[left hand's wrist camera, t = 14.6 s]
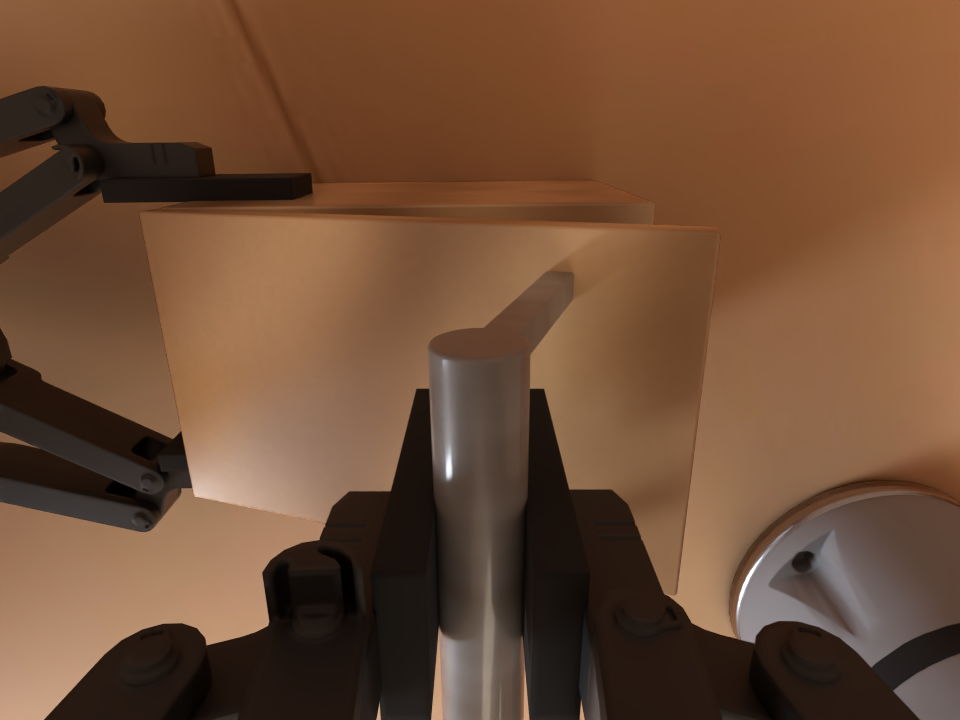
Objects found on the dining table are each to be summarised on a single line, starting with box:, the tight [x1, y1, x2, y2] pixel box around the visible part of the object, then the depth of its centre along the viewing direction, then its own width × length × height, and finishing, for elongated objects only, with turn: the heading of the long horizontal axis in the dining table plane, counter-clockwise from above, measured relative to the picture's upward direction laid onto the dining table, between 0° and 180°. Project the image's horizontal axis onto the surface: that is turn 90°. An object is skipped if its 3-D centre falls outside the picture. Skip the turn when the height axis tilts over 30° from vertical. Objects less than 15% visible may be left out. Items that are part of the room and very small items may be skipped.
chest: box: [160, 180, 655, 225], centre depth 26 cm, size 16×10×10 cm, turn 91°
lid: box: [139, 209, 721, 720], centre depth 15 cm, size 16×10×8 cm, turn 90°
